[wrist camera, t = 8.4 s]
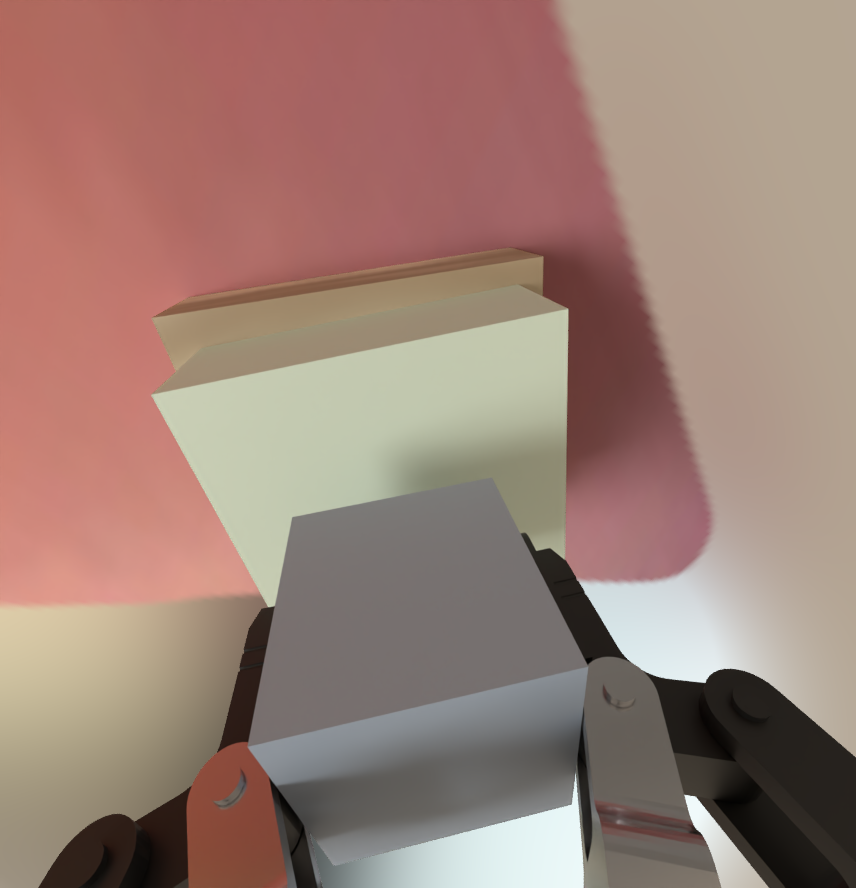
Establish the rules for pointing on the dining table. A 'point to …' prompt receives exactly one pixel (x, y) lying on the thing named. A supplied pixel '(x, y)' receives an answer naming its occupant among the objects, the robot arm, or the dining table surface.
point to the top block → (379, 417)
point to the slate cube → (416, 674)
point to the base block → (337, 298)
